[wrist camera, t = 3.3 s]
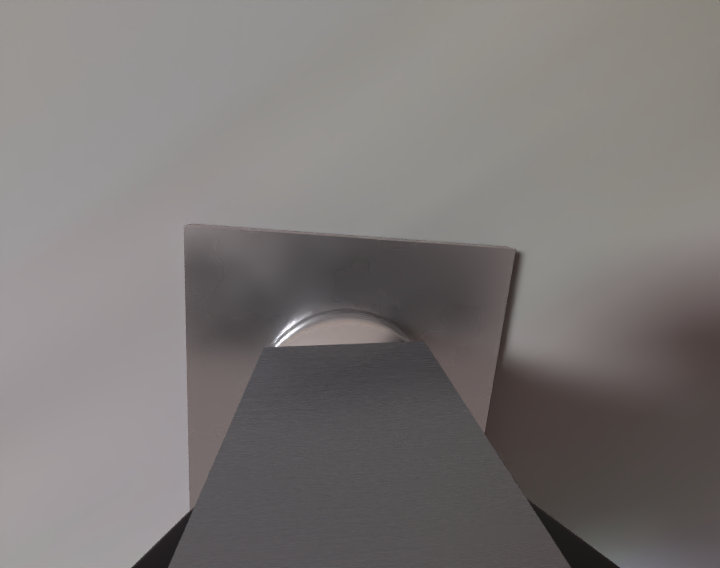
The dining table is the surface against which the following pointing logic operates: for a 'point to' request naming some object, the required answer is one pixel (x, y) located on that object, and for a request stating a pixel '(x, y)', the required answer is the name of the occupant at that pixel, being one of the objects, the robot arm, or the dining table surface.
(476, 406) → the stud
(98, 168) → the dining table surface
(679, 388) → the dining table surface
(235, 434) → the strut
